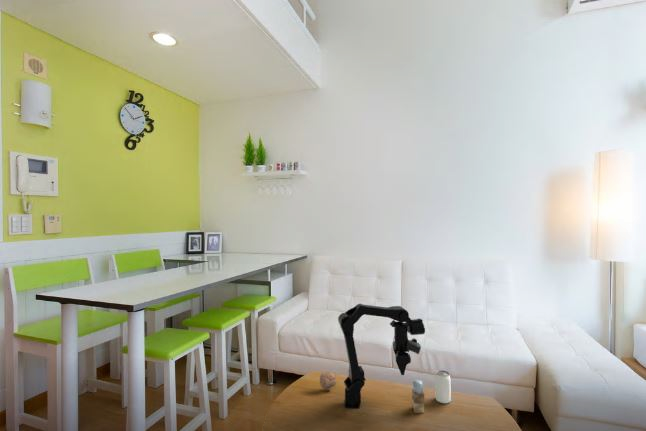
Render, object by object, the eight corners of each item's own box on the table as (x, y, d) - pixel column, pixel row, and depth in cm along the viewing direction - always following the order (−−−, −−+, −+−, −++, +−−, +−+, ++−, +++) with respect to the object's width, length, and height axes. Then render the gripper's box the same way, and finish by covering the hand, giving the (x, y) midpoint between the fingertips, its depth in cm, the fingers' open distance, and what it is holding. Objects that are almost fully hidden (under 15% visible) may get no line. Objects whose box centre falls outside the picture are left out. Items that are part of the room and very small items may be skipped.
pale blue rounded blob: (413, 393, 142) (413, 383, 142) (412, 388, 146) (412, 379, 146) (423, 393, 142) (423, 384, 142) (422, 389, 146) (422, 379, 146)
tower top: (414, 403, 142) (414, 393, 142) (412, 398, 146) (412, 389, 146) (424, 403, 142) (424, 393, 142) (421, 398, 146) (421, 388, 146)
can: (452, 404, 148) (451, 377, 148) (436, 403, 149) (435, 375, 149) (449, 396, 154) (449, 370, 154) (434, 395, 155) (434, 369, 155)
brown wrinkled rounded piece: (336, 387, 165) (336, 370, 165) (335, 393, 158) (335, 376, 158) (320, 386, 165) (320, 370, 165) (319, 393, 159) (319, 376, 159)
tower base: (414, 412, 142) (414, 403, 142) (412, 407, 146) (412, 398, 146) (424, 413, 142) (423, 403, 142) (422, 407, 146) (422, 398, 146)
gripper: (422, 343, 142) (423, 381, 142) (416, 329, 161) (416, 362, 161) (395, 343, 144) (396, 379, 144) (392, 328, 162) (393, 361, 162)
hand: (401, 370), depth 153 cm, fingers open, 9 cm apart
